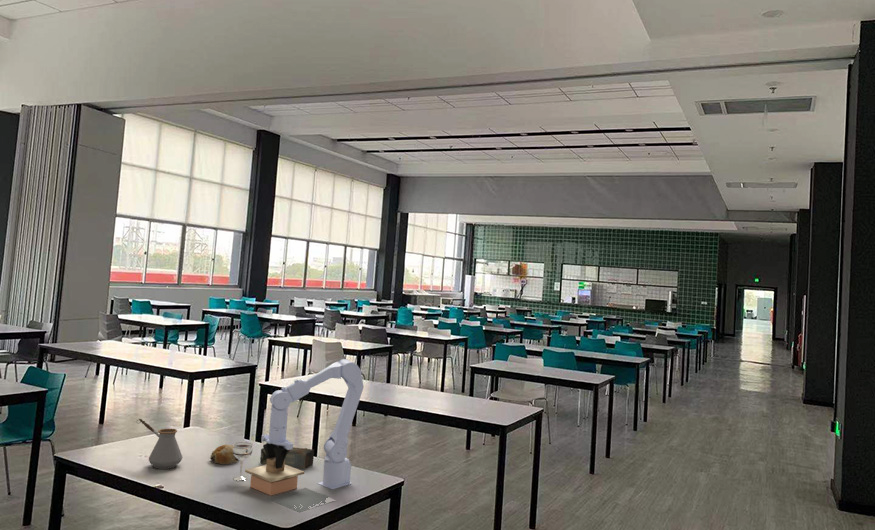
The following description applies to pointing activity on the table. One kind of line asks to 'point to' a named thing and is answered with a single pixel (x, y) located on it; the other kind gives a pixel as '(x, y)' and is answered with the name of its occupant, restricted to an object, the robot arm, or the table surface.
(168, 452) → the coffee pot
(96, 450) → the table surface
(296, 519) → the table surface
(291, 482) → the orange open box
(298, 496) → the mat
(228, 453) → the bread roll
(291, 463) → the beverage carton
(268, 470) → the lid
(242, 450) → the wineglass
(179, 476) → the table surface
